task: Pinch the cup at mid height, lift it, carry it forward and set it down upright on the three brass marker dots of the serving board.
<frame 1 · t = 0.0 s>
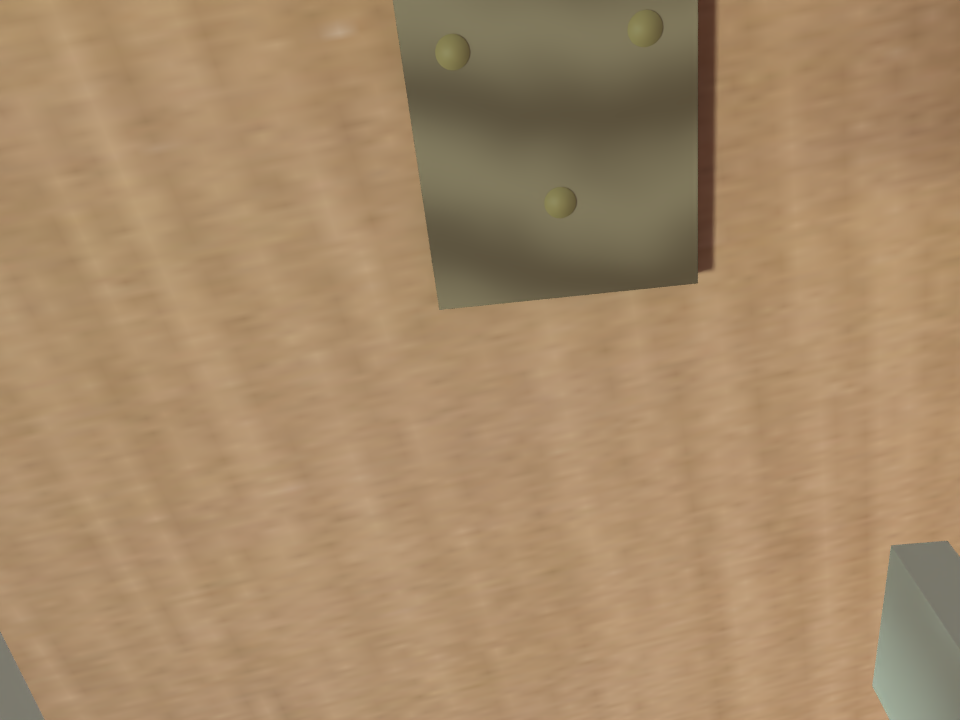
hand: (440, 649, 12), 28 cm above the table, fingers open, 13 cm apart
board: (550, 92, 36), on the table
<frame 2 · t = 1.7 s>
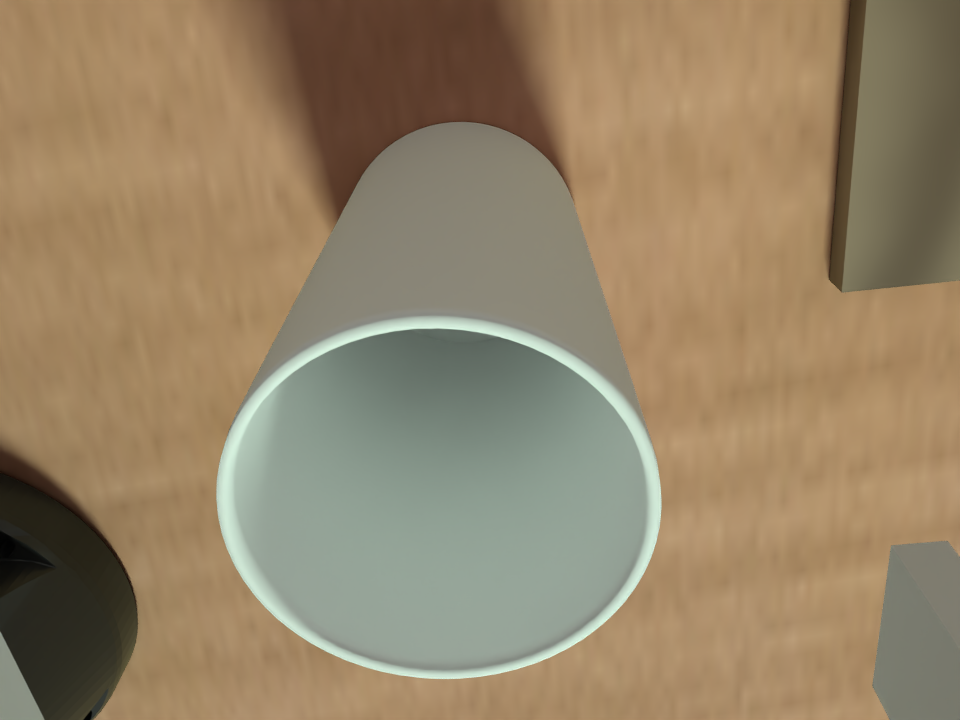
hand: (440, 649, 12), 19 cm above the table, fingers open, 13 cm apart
cup: (462, 237, 30), on the table
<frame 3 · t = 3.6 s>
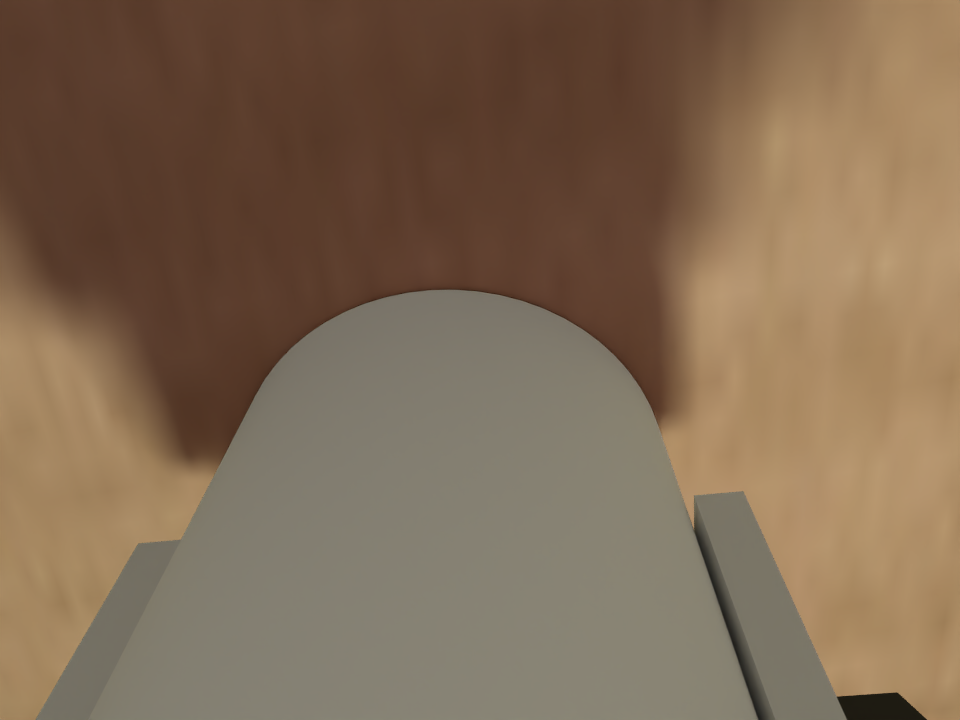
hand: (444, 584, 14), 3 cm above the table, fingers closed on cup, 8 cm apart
cup: (452, 478, 16), on the table, touching gripper
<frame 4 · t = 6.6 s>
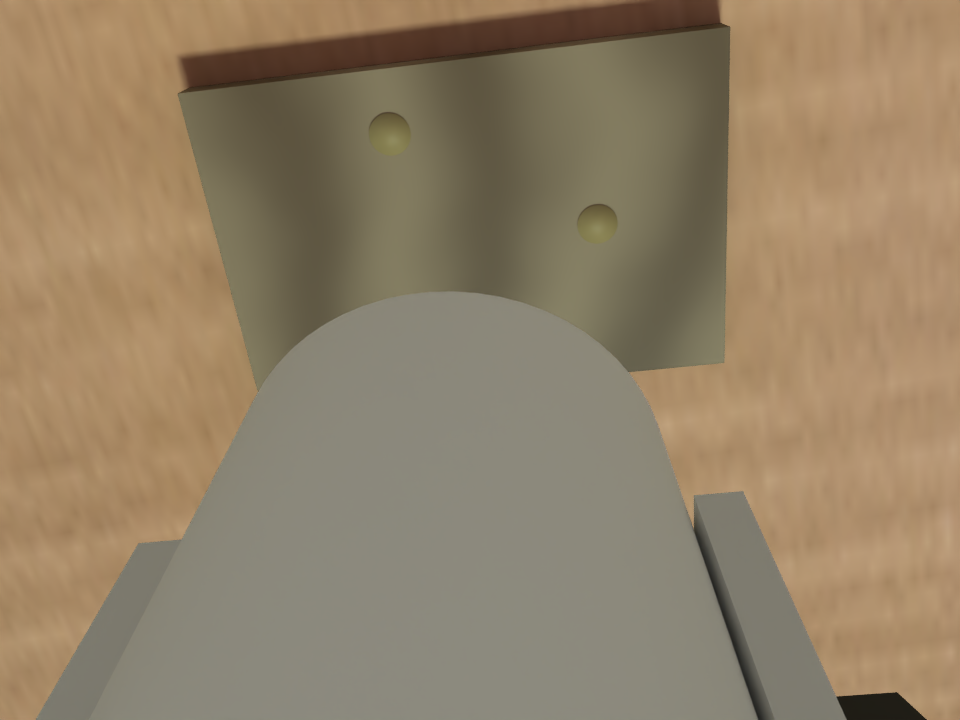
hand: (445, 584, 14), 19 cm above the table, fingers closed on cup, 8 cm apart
cup: (452, 480, 16), point 16 cm above the table, touching gripper
board: (471, 227, 31), on the table
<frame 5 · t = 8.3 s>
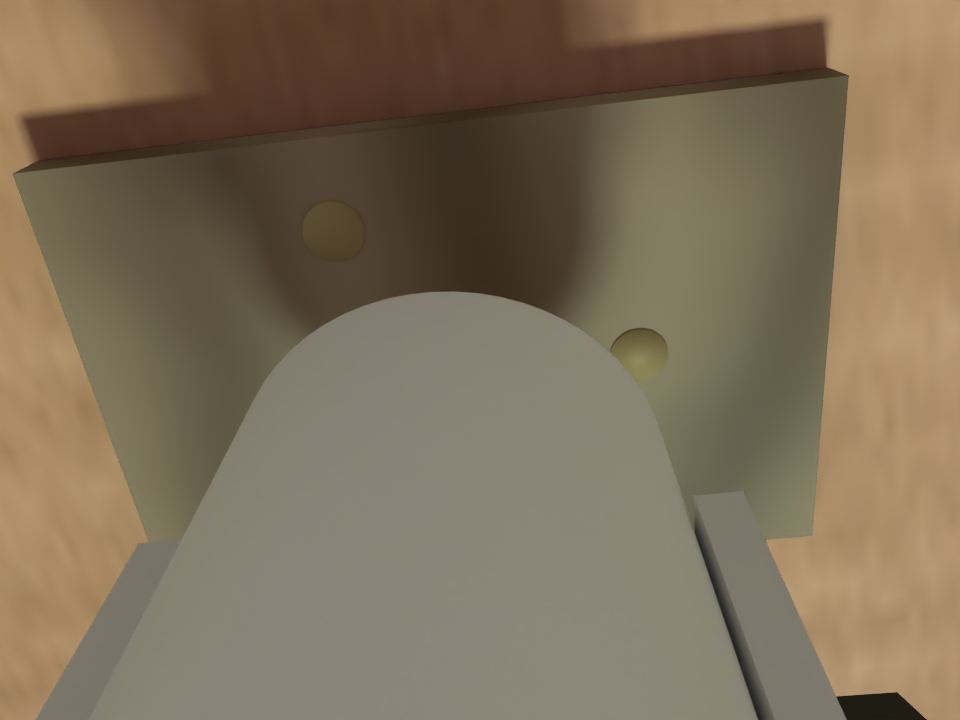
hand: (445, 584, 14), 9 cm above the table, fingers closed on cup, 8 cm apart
cup: (452, 480, 16), point 6 cm above the table, touching gripper
board: (456, 352, 22), on the table
when the fingers open (4 cm above the table, at t = 9.6 s): cup stays where it is, resting on board.
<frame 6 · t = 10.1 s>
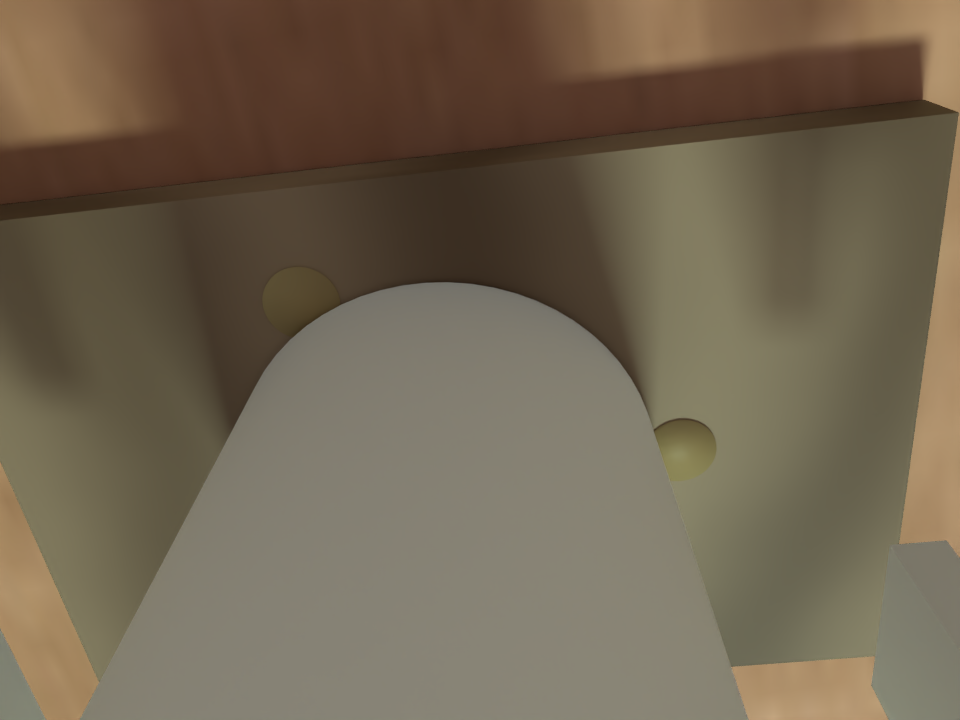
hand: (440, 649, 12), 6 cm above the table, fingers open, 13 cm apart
cup: (448, 467, 17), point 1 cm above the table, touching board
board: (455, 438, 18), on the table
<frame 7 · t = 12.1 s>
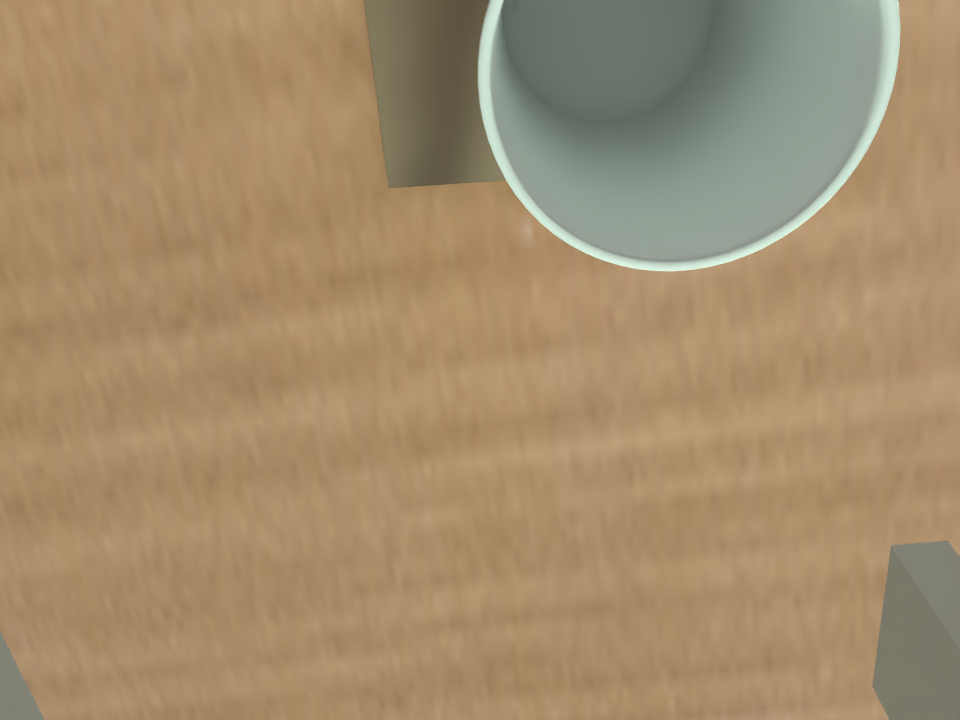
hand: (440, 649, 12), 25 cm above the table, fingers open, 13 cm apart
cup: (606, 11, 31), point 1 cm above the table, touching board
board: (606, 9, 32), on the table
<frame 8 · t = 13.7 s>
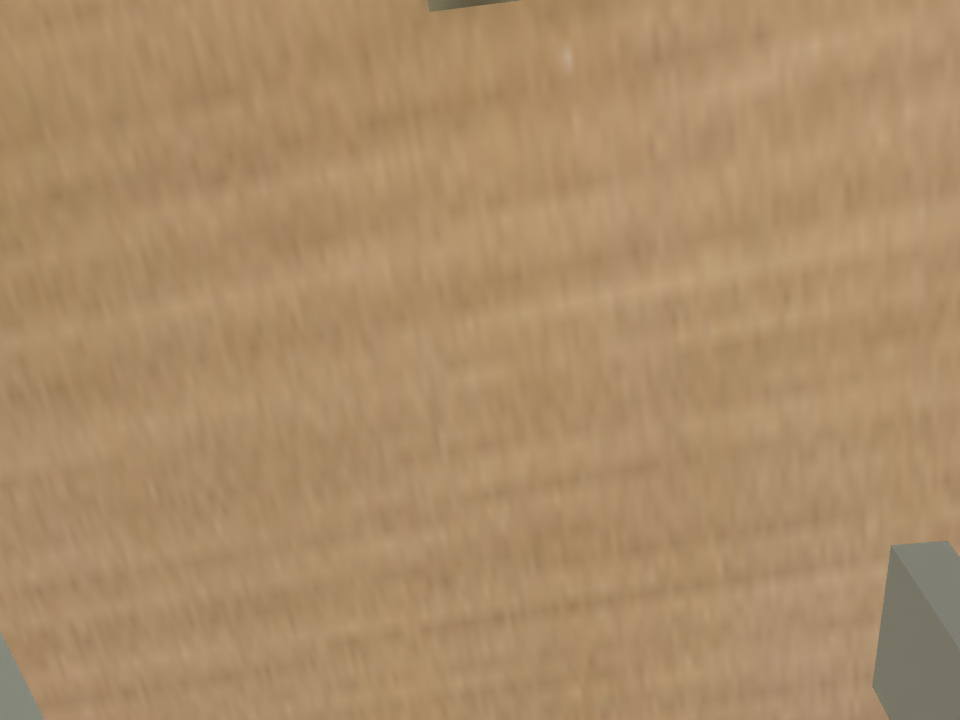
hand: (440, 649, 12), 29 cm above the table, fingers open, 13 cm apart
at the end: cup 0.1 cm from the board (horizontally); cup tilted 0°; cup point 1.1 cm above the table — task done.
